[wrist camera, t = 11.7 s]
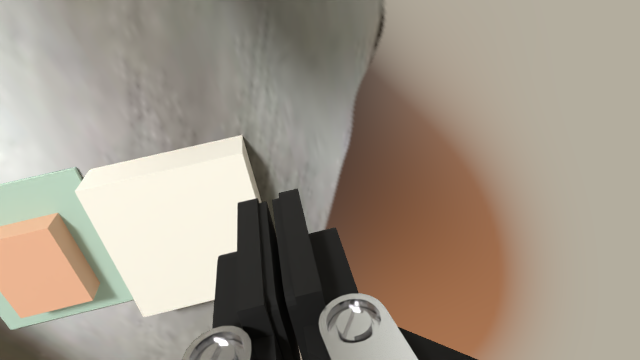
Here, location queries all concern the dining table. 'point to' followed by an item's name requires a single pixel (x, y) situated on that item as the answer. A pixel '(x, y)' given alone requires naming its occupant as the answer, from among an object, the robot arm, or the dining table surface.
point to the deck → (170, 219)
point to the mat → (60, 197)
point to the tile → (43, 267)
